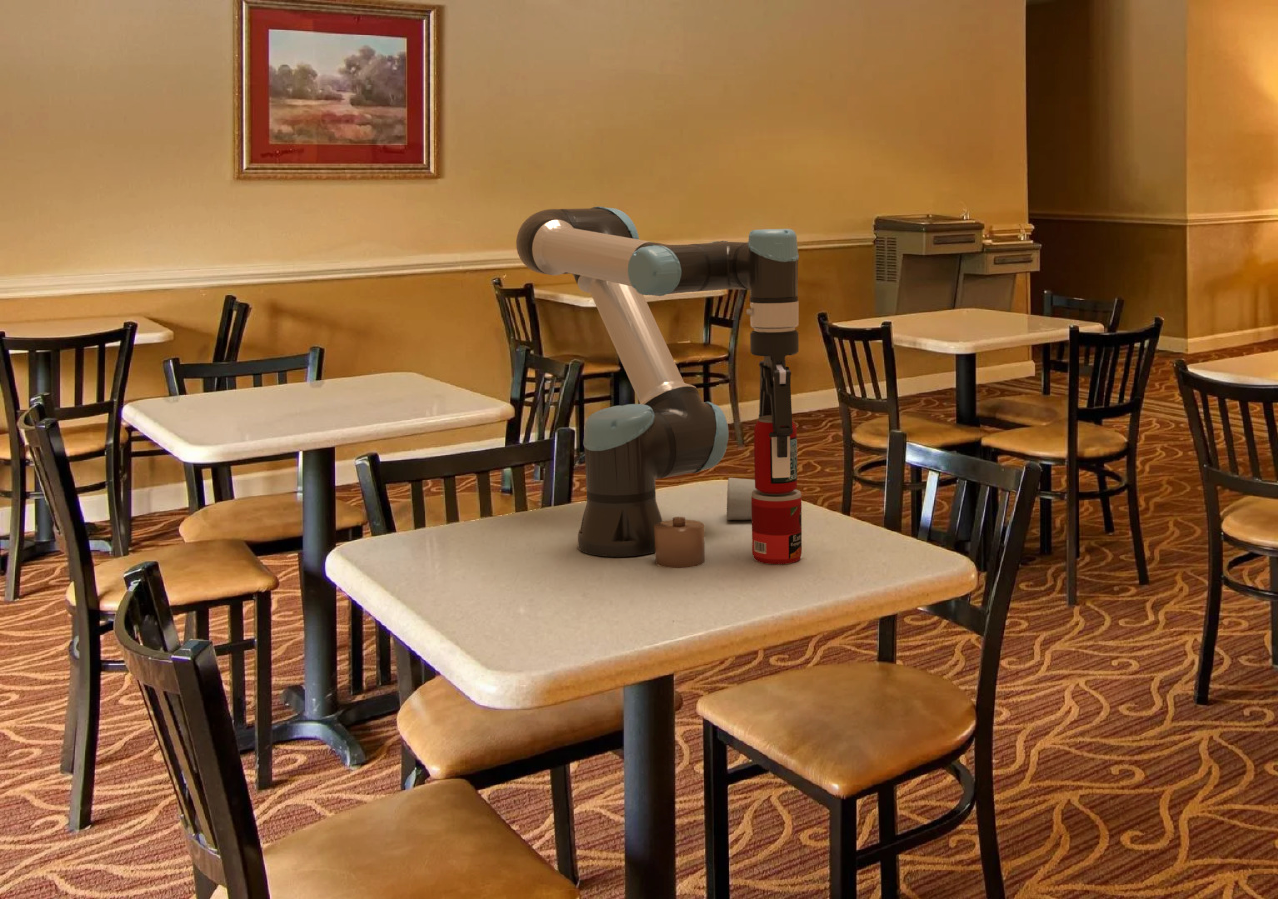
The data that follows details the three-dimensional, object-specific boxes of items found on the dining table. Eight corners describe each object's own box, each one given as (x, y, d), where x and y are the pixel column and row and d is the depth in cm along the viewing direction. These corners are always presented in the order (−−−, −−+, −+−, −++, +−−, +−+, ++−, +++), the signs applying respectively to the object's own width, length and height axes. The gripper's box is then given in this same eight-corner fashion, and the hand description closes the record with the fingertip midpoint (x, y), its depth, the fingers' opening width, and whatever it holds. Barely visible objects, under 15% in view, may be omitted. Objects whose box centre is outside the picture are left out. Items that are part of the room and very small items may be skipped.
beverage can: (786, 498, 205) (785, 422, 203) (747, 494, 209) (746, 419, 207) (804, 489, 211) (803, 415, 209) (766, 486, 215) (765, 413, 212)
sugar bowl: (645, 563, 212) (643, 520, 210) (676, 552, 218) (675, 510, 216) (684, 571, 207) (682, 526, 205) (714, 559, 213) (713, 516, 211)
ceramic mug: (772, 524, 235) (772, 481, 233) (726, 524, 235) (725, 482, 234) (771, 511, 245) (770, 470, 244) (727, 511, 246) (726, 471, 244)
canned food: (800, 565, 207) (799, 497, 205) (749, 564, 209) (748, 496, 207) (803, 552, 215) (803, 487, 213) (754, 552, 216) (753, 486, 214)
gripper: (739, 324, 215) (742, 459, 219) (762, 336, 194) (764, 486, 199) (785, 322, 216) (786, 457, 220) (812, 334, 195) (813, 484, 199)
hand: (775, 471), depth 209 cm, fingers open, 8 cm apart
